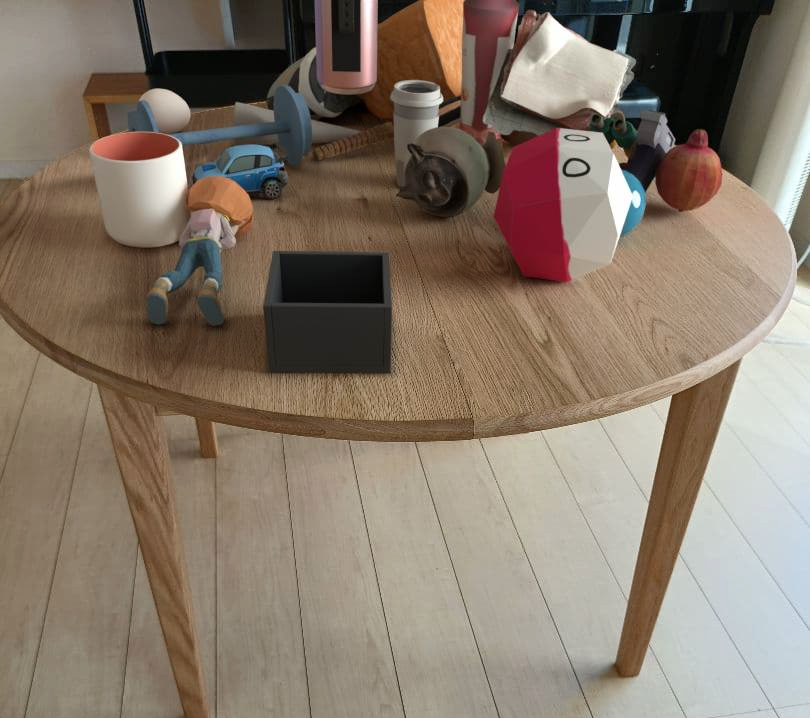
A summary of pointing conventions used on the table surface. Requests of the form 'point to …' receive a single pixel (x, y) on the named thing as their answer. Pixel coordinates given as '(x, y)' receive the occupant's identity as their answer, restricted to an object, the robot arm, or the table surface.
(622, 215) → the decorative object
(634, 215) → the ball
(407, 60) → the bread
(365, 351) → the trash bin
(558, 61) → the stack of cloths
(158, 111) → the egg
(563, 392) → the table surface
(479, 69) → the liquor
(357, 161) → the table surface
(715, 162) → the fruit
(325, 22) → the beverage can
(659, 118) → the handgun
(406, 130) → the cup
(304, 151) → the dumbbell
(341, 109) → the running shoe
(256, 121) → the long tapered cone
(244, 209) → the figurine
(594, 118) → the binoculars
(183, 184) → the cup
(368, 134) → the throwing knife
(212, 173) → the toy car
